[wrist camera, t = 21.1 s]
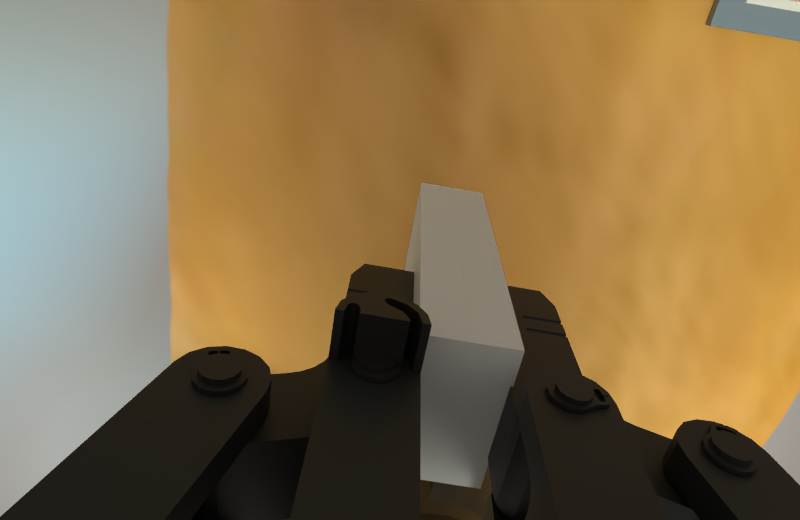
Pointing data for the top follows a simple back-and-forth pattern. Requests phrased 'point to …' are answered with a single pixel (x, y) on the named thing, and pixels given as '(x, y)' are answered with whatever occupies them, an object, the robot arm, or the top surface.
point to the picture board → (758, 17)
